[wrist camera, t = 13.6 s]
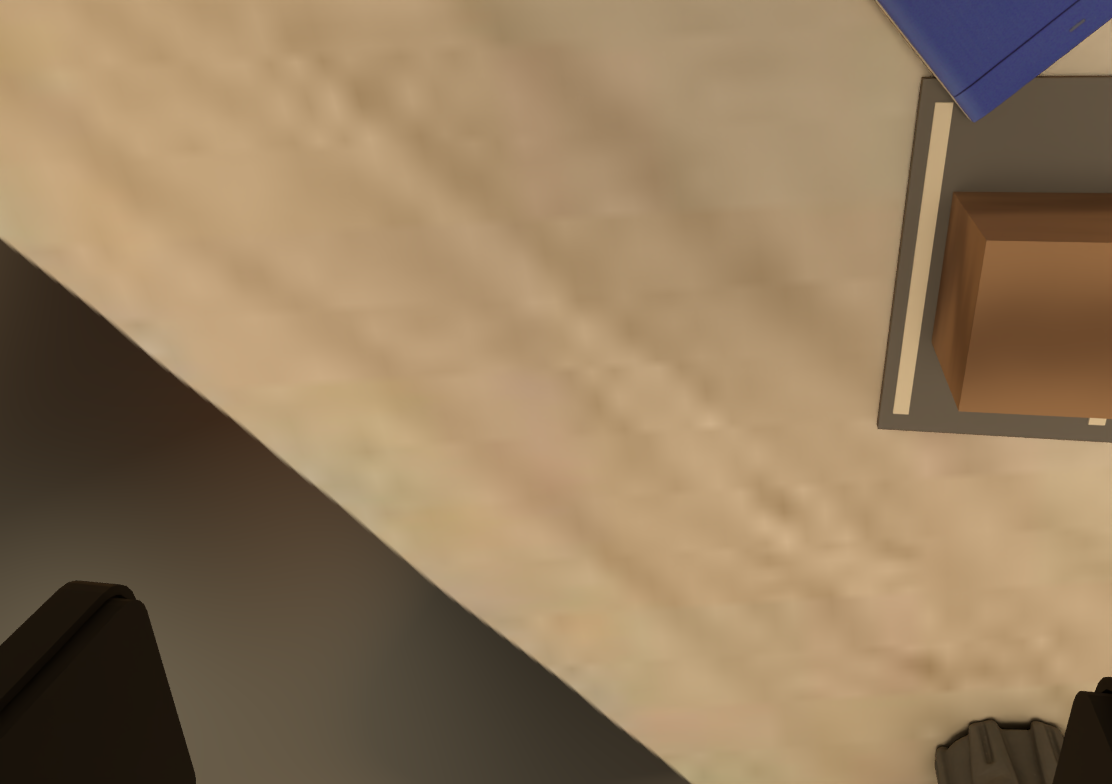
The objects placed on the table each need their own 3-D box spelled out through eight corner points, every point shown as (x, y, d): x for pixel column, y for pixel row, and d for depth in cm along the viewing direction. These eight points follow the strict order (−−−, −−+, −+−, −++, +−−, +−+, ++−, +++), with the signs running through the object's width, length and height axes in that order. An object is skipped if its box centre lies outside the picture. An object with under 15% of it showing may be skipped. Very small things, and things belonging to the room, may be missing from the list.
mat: (921, 77, 34) (923, 79, 34) (1201, 75, 32) (1207, 77, 32) (876, 424, 40) (878, 430, 40) (1110, 437, 38) (1114, 444, 38)
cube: (953, 191, 35) (986, 240, 30) (1131, 193, 34) (1199, 244, 29) (931, 341, 38) (958, 411, 32) (1096, 348, 37) (1152, 420, 31)
